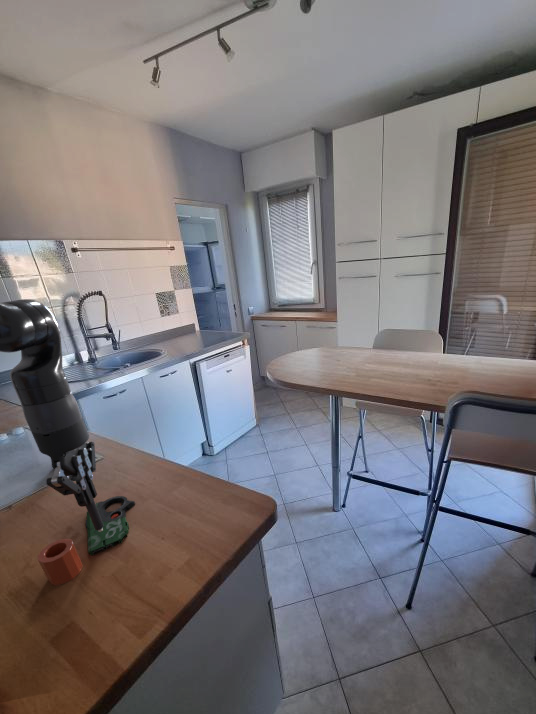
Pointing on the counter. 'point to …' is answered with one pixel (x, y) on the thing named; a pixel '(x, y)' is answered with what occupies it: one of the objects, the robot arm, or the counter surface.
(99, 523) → the dark gray rod
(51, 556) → the pen cup
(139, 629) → the counter surface
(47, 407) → the robot arm
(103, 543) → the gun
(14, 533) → the counter surface
